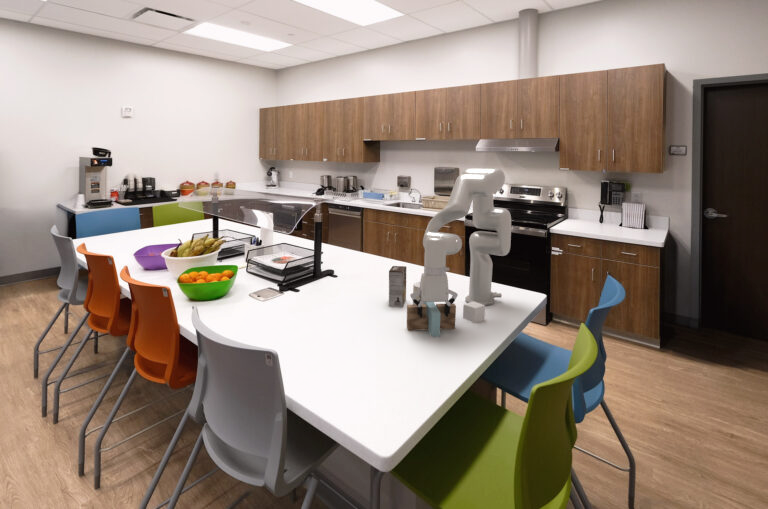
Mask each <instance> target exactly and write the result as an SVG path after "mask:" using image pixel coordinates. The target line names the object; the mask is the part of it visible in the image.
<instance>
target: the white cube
mask: <svg viewBox="0 0 768 509" xmlns="http://www.w3.org/2000/svg"><path fill="white" fill-rule="evenodd" d="M462 307H463V309H462V310H463V312H462V319H464V320H467V321H469V322H471V323H474V324H475V323H477V322H481V321H483V320H485V316H486V305H483V304H480V303H477V302H470V303H468V302H466V303H463V306H462Z"/></svg>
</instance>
